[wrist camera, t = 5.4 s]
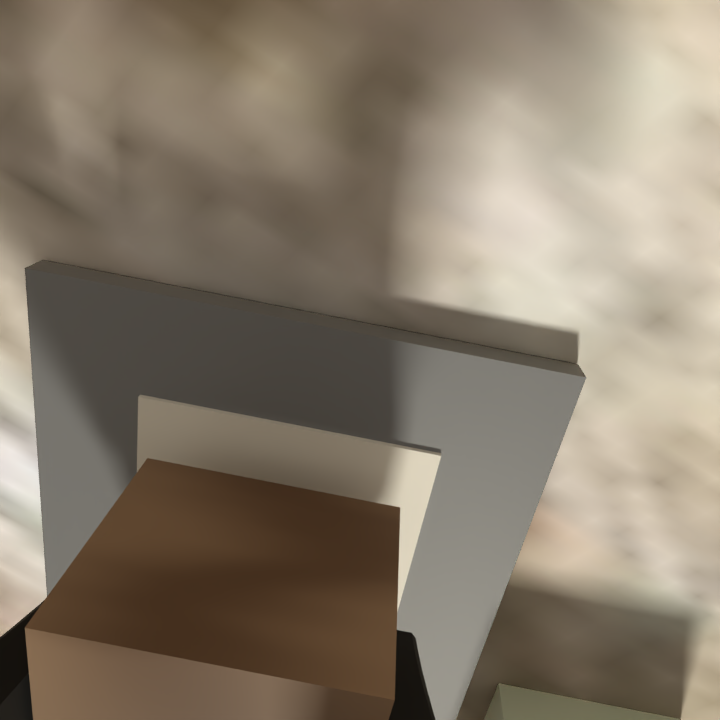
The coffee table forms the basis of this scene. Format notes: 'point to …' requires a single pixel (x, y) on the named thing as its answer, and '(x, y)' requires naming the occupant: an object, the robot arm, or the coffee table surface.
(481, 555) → the grey framed square tile
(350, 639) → the walnut block
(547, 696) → the sage block
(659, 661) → the coffee table surface
